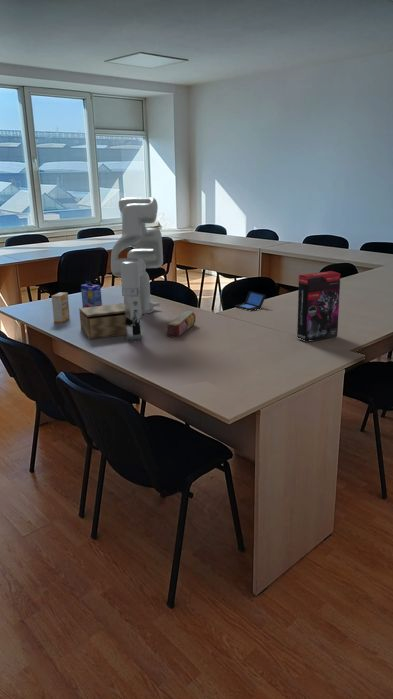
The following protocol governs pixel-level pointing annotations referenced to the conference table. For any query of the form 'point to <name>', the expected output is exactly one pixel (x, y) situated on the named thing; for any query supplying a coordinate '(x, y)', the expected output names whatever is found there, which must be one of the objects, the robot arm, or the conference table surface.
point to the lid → (103, 310)
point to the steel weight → (131, 334)
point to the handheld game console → (252, 301)
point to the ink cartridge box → (91, 295)
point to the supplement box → (60, 307)
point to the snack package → (181, 324)
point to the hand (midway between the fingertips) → (133, 331)
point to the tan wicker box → (103, 325)
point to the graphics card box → (318, 305)
